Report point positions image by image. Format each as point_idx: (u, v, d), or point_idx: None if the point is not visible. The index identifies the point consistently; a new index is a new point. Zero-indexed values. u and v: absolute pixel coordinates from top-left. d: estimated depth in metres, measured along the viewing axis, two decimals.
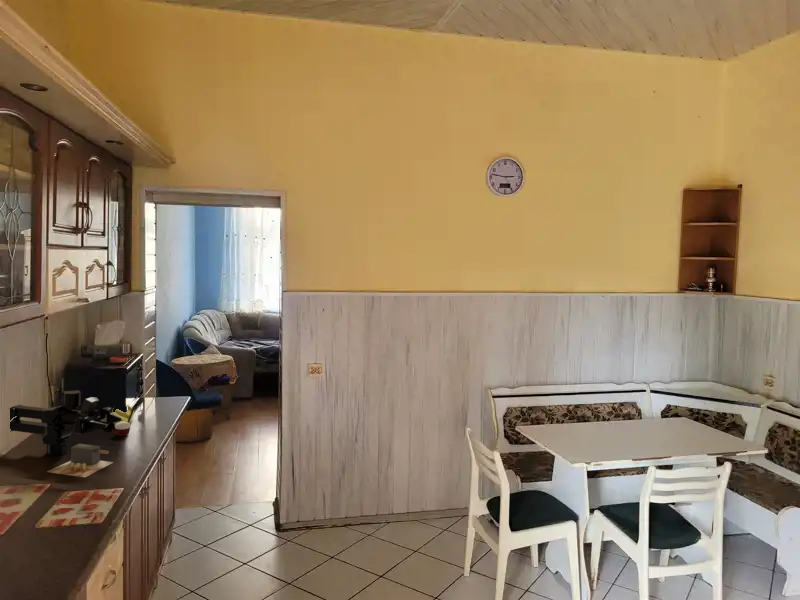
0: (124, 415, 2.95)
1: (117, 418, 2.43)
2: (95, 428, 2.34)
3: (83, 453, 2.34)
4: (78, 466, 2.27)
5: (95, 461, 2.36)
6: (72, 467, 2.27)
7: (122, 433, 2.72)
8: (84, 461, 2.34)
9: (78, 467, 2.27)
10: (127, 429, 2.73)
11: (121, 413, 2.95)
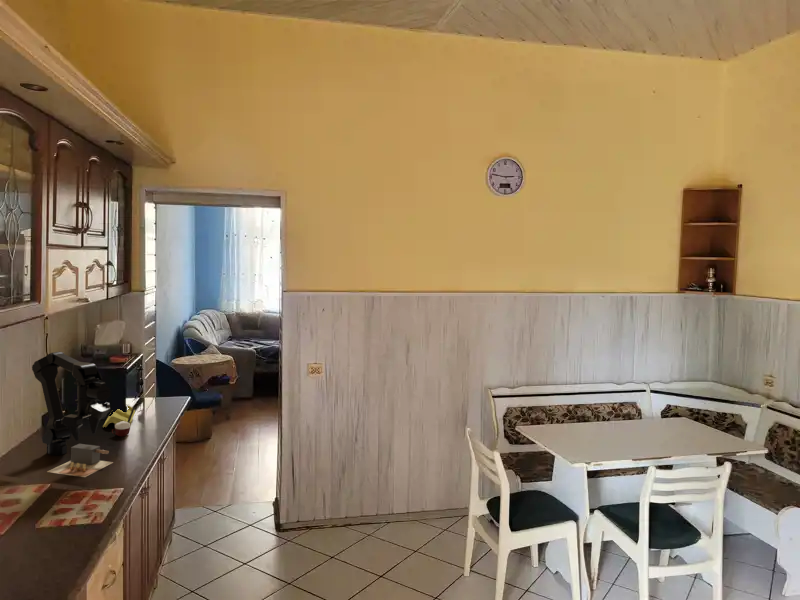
0: (124, 415, 2.95)
1: (94, 429, 2.40)
2: (72, 431, 2.30)
3: (83, 453, 2.34)
4: (78, 466, 2.27)
5: (95, 461, 2.36)
6: (72, 467, 2.27)
7: (122, 433, 2.72)
8: (84, 461, 2.34)
9: (78, 467, 2.27)
10: (127, 429, 2.73)
11: (121, 413, 2.95)
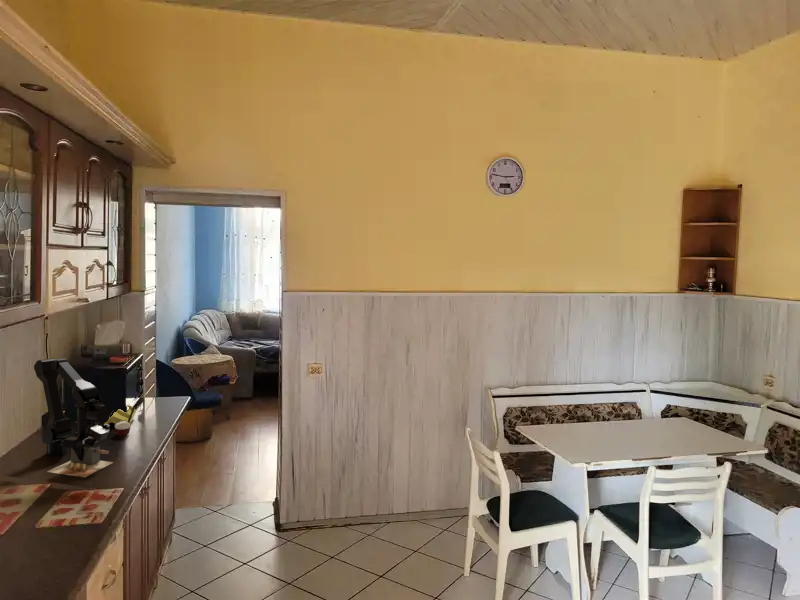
0: (125, 415, 2.96)
1: None
2: (76, 452, 2.33)
3: None
4: (78, 466, 2.27)
5: (95, 461, 2.36)
6: (72, 467, 2.27)
7: (122, 433, 2.72)
8: (84, 461, 2.34)
9: (78, 467, 2.27)
10: (127, 429, 2.73)
11: (122, 413, 2.95)
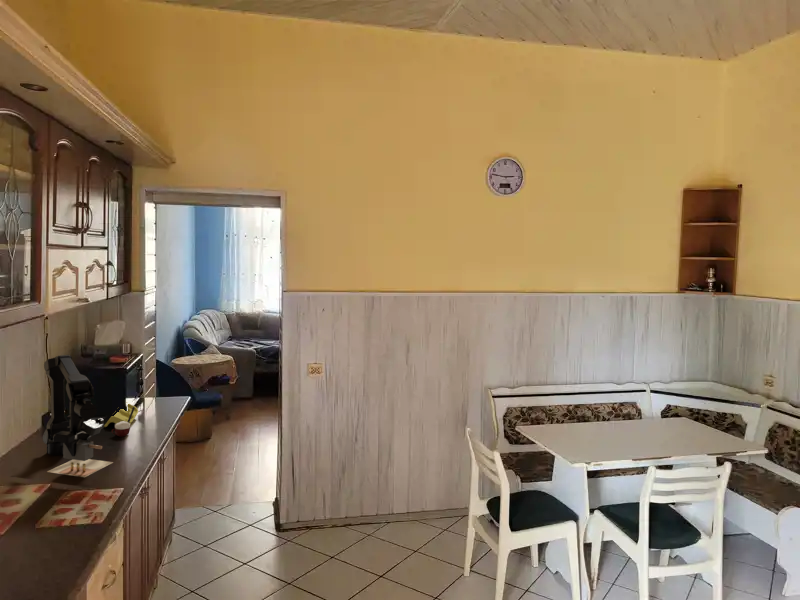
0: (127, 415, 2.96)
1: None
2: (68, 447, 2.23)
3: (76, 448, 2.24)
4: (78, 466, 2.27)
5: (88, 457, 2.26)
6: (72, 467, 2.27)
7: (122, 433, 2.72)
8: (77, 457, 2.24)
9: (78, 467, 2.27)
10: (127, 429, 2.73)
11: (124, 413, 2.96)
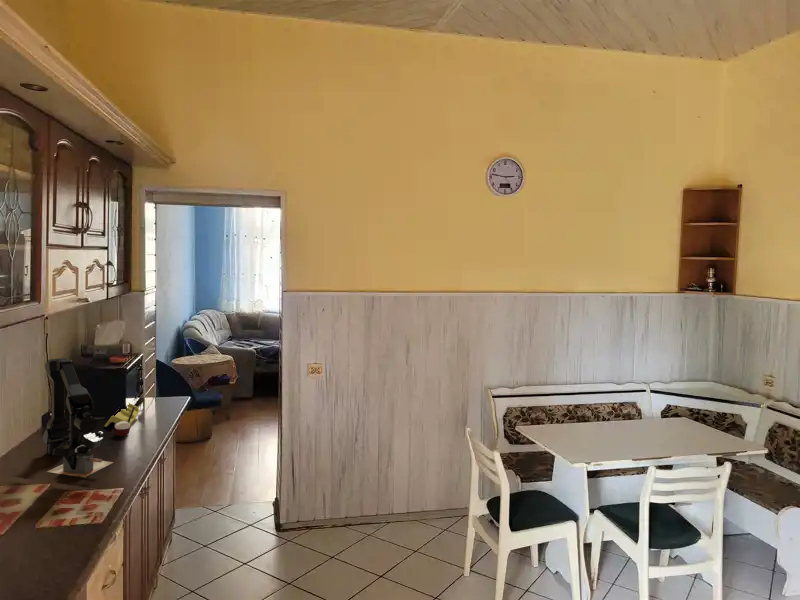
0: (128, 415, 2.96)
1: None
2: (68, 461, 2.23)
3: (76, 462, 2.24)
4: None
5: (88, 470, 2.26)
6: None
7: (122, 433, 2.72)
8: (77, 470, 2.25)
9: None
10: (127, 429, 2.73)
11: (125, 413, 2.96)
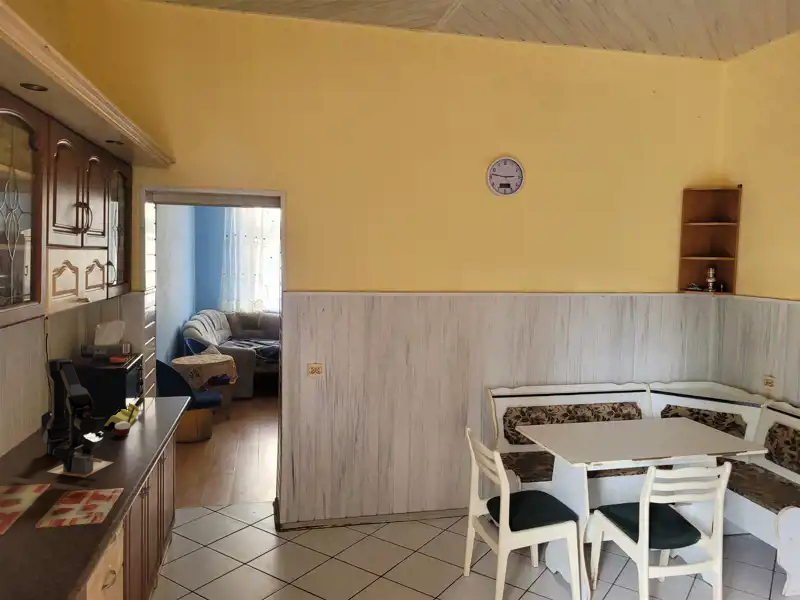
0: (128, 415, 2.96)
1: None
2: (64, 463, 2.21)
3: (76, 462, 2.24)
4: None
5: (88, 470, 2.26)
6: None
7: (122, 433, 2.72)
8: (77, 470, 2.25)
9: None
10: (127, 429, 2.73)
11: (125, 412, 2.96)
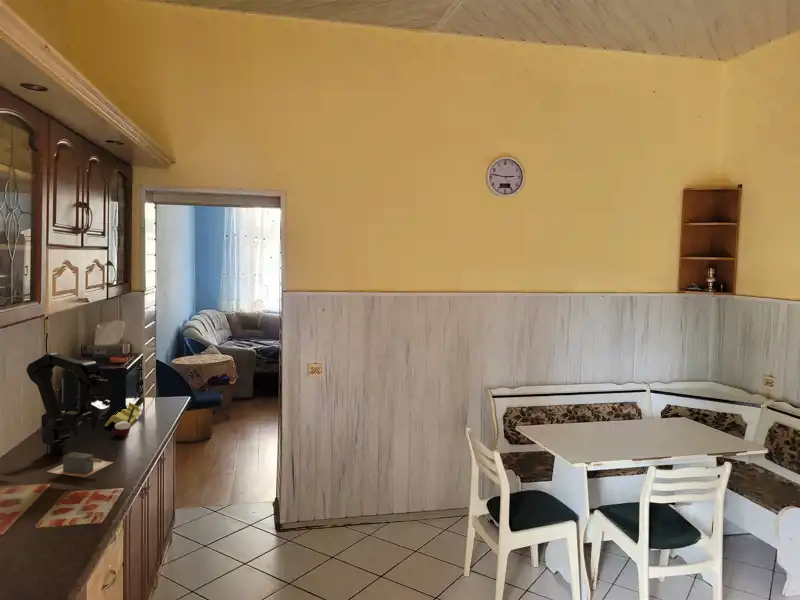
0: (129, 414, 2.96)
1: (94, 426, 2.43)
2: (72, 428, 2.33)
3: (76, 462, 2.24)
4: None
5: (88, 470, 2.26)
6: None
7: (122, 433, 2.72)
8: (77, 470, 2.25)
9: None
10: (127, 429, 2.73)
11: (126, 412, 2.96)
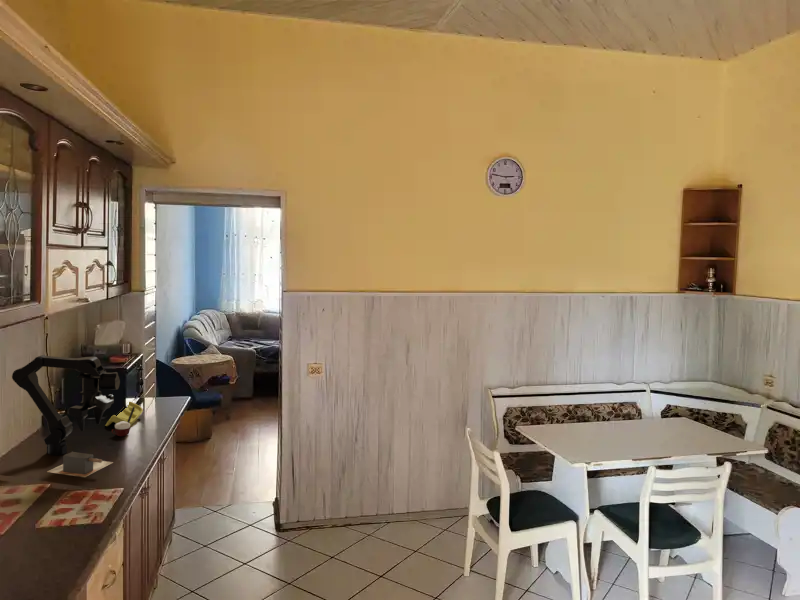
0: None
1: (98, 420, 2.50)
2: (77, 422, 2.40)
3: (76, 462, 2.24)
4: None
5: (88, 470, 2.26)
6: None
7: (122, 433, 2.72)
8: (77, 470, 2.25)
9: None
10: (127, 429, 2.73)
11: (128, 412, 2.96)
